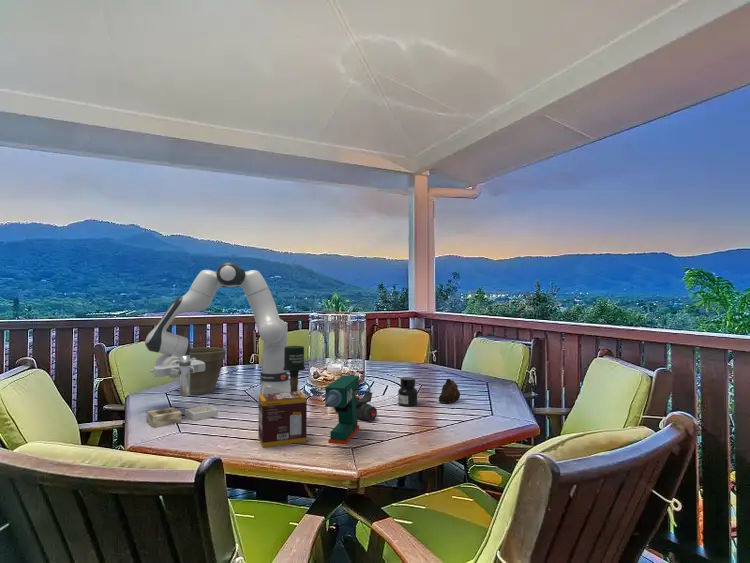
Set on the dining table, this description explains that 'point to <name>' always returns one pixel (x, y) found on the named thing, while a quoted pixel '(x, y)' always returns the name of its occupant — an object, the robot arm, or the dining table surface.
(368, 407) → the laser sight
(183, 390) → the collared metal peg
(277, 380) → the robot arm
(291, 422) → the supplement box
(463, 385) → the dining table surface
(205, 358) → the plant pot
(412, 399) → the ink bottle
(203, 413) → the tray
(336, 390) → the power tool
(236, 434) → the dining table surface
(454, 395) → the decorative rock
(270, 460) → the dining table surface
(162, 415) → the socket block
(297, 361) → the stick grenade
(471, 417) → the dining table surface
